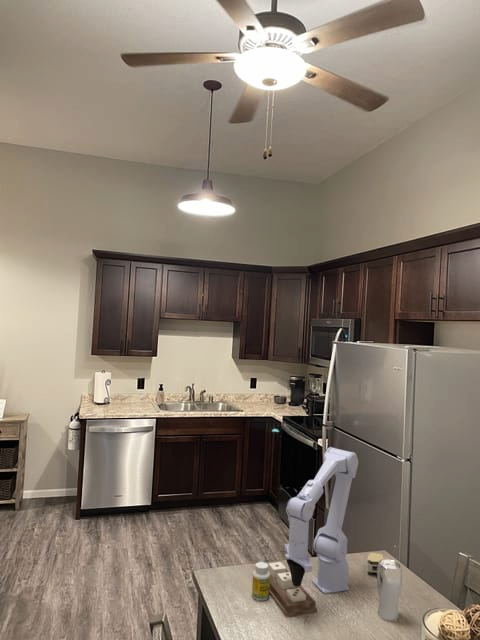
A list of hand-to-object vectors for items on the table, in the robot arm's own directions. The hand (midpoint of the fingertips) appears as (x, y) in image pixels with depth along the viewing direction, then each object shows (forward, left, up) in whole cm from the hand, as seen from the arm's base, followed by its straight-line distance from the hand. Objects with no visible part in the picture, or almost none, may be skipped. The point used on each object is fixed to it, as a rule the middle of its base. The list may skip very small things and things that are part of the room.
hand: (296, 585), depth 140 cm
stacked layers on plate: (-37, -12, -7) cm, 40 cm away
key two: (0, -7, -4) cm, 8 cm away
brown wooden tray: (0, -7, -6) cm, 9 cm away
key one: (0, -14, -4) cm, 14 cm away
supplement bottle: (+8, -8, -7) cm, 13 cm away
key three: (0, 0, -5) cm, 5 cm away
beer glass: (-25, +11, -7) cm, 28 cm away
